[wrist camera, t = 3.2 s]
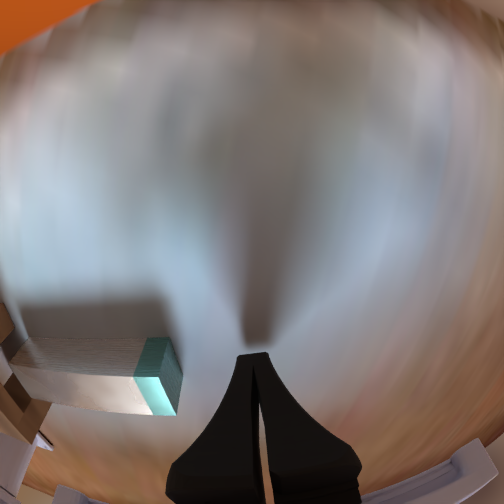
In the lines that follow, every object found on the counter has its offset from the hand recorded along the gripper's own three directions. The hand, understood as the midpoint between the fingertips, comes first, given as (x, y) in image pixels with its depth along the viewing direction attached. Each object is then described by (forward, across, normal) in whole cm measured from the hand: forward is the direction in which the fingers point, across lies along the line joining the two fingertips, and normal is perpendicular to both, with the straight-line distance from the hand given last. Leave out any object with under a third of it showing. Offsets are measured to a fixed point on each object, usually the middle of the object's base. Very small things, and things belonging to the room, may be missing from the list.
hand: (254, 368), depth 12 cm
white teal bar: (+1, +9, 0) cm, 9 cm away
